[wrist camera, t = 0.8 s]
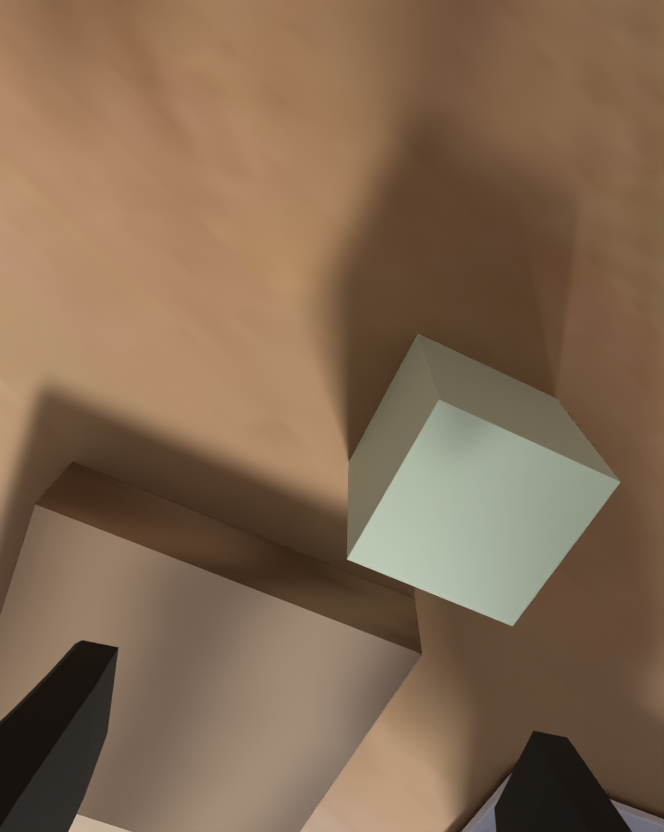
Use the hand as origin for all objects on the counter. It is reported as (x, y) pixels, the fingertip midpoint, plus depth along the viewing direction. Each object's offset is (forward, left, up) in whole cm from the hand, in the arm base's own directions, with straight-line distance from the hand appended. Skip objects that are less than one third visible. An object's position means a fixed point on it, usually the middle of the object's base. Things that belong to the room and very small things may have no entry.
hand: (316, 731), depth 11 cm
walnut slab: (+1, +9, -10) cm, 14 cm away
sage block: (-3, -3, -10) cm, 10 cm away
